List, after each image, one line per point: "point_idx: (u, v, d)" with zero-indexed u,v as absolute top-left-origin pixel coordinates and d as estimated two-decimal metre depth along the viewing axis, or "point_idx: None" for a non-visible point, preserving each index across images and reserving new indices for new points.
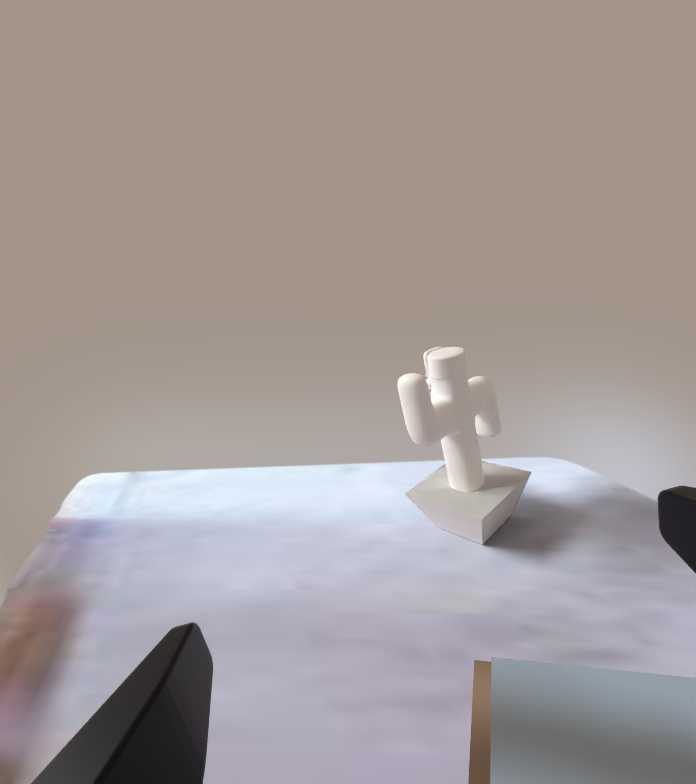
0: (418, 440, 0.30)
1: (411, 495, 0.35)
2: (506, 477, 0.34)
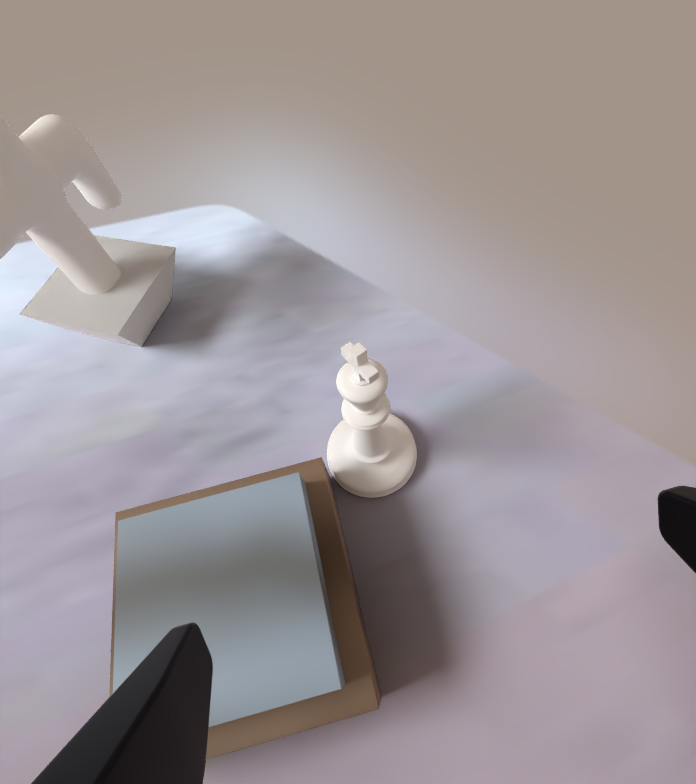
0: None
1: (28, 314, 0.26)
2: (147, 262, 0.27)
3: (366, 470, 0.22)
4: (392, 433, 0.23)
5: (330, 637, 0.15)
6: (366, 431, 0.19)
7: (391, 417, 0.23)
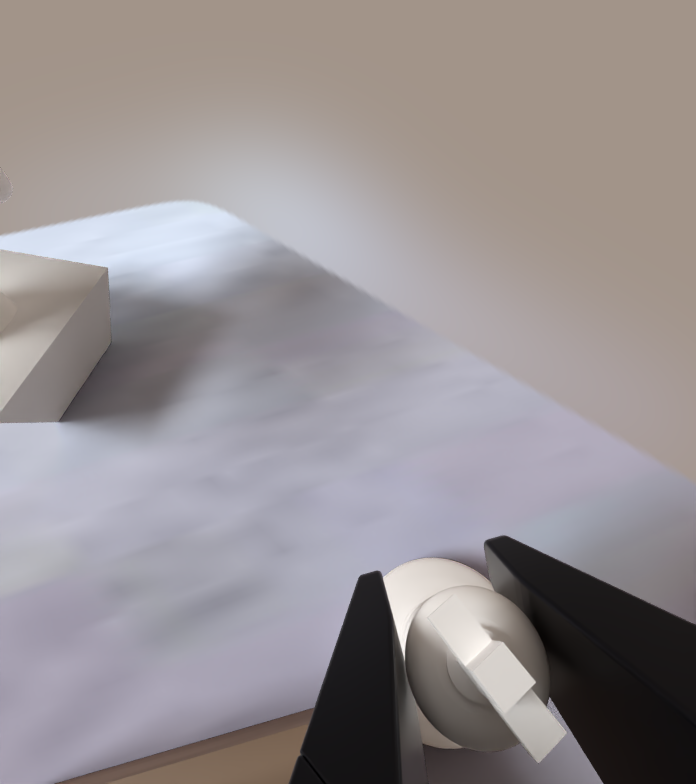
0: None
1: None
2: (60, 291, 0.17)
3: None
4: None
5: None
6: None
7: (473, 578, 0.13)
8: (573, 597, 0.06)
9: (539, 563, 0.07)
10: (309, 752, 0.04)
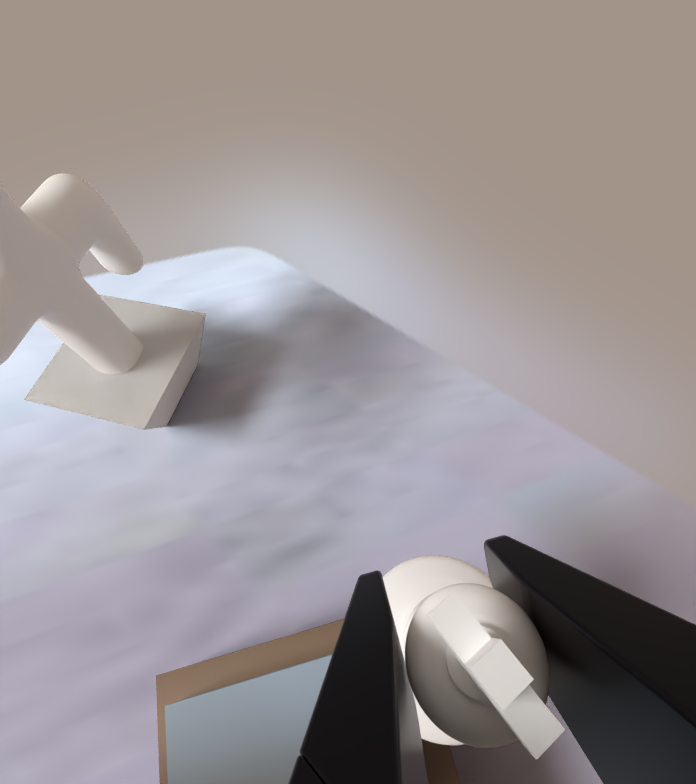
0: None
1: (34, 400, 0.22)
2: (172, 332, 0.23)
3: None
4: None
5: None
6: None
7: (475, 576, 0.13)
8: (573, 597, 0.06)
9: (539, 563, 0.07)
10: (309, 752, 0.04)
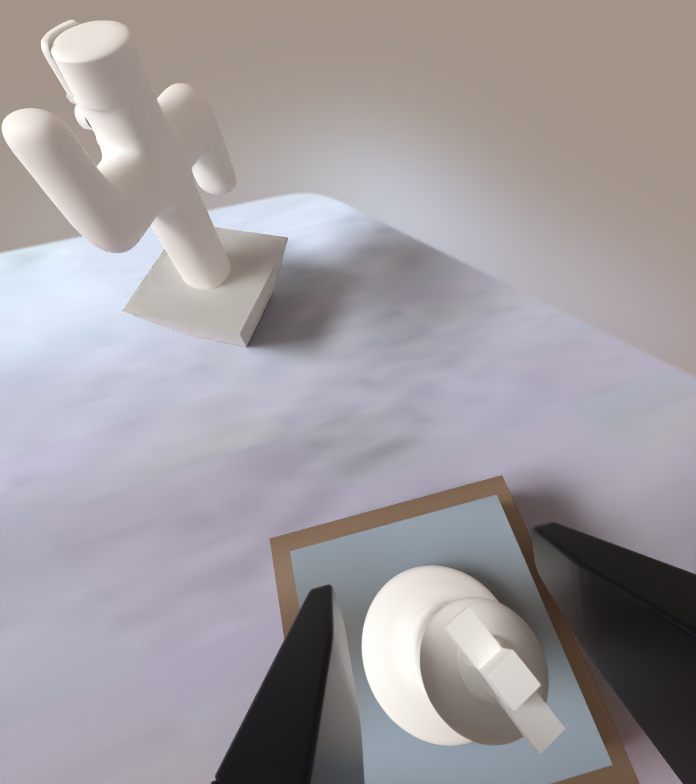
0: (104, 247, 0.17)
1: (132, 311, 0.23)
2: (258, 253, 0.25)
3: None
4: None
5: (583, 698, 0.13)
6: None
7: (472, 586, 0.14)
8: (638, 578, 0.06)
9: (595, 547, 0.07)
10: (223, 778, 0.04)
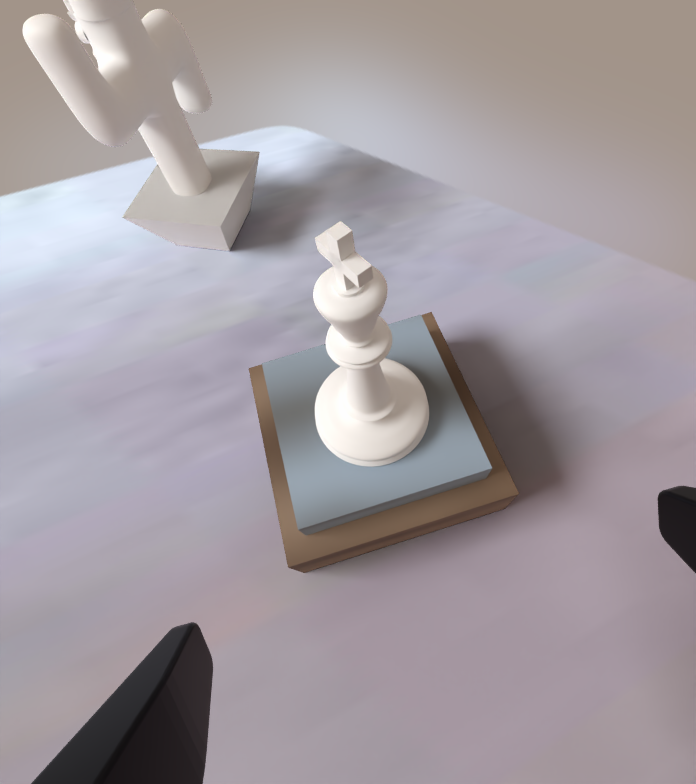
0: (105, 139, 0.21)
1: (130, 217, 0.28)
2: (234, 165, 0.29)
3: (364, 431, 0.17)
4: (397, 384, 0.18)
5: (475, 433, 0.17)
6: (361, 375, 0.14)
7: (395, 365, 0.18)
8: None
9: None
10: None
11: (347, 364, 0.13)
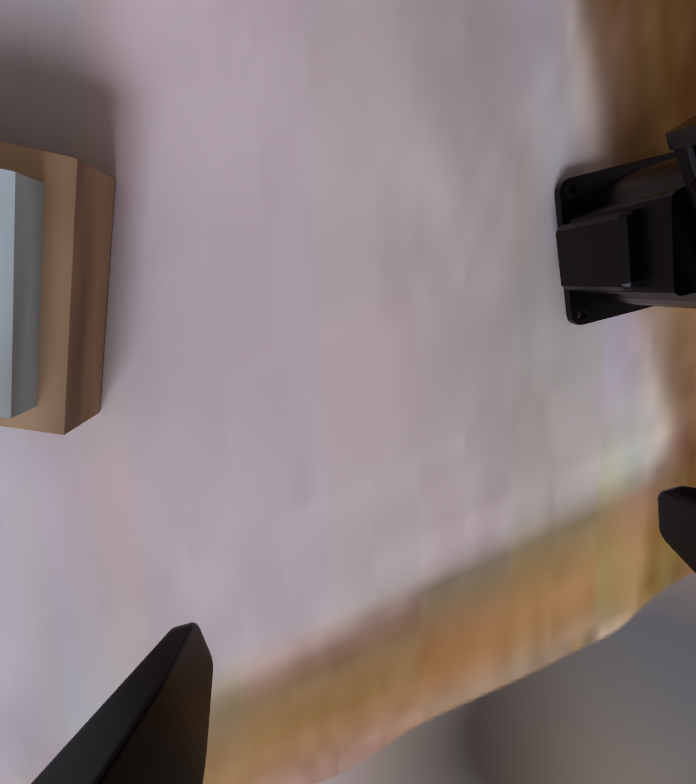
0: None
1: None
2: None
3: None
4: None
5: None
6: None
7: None
8: None
9: None
10: None
11: None
